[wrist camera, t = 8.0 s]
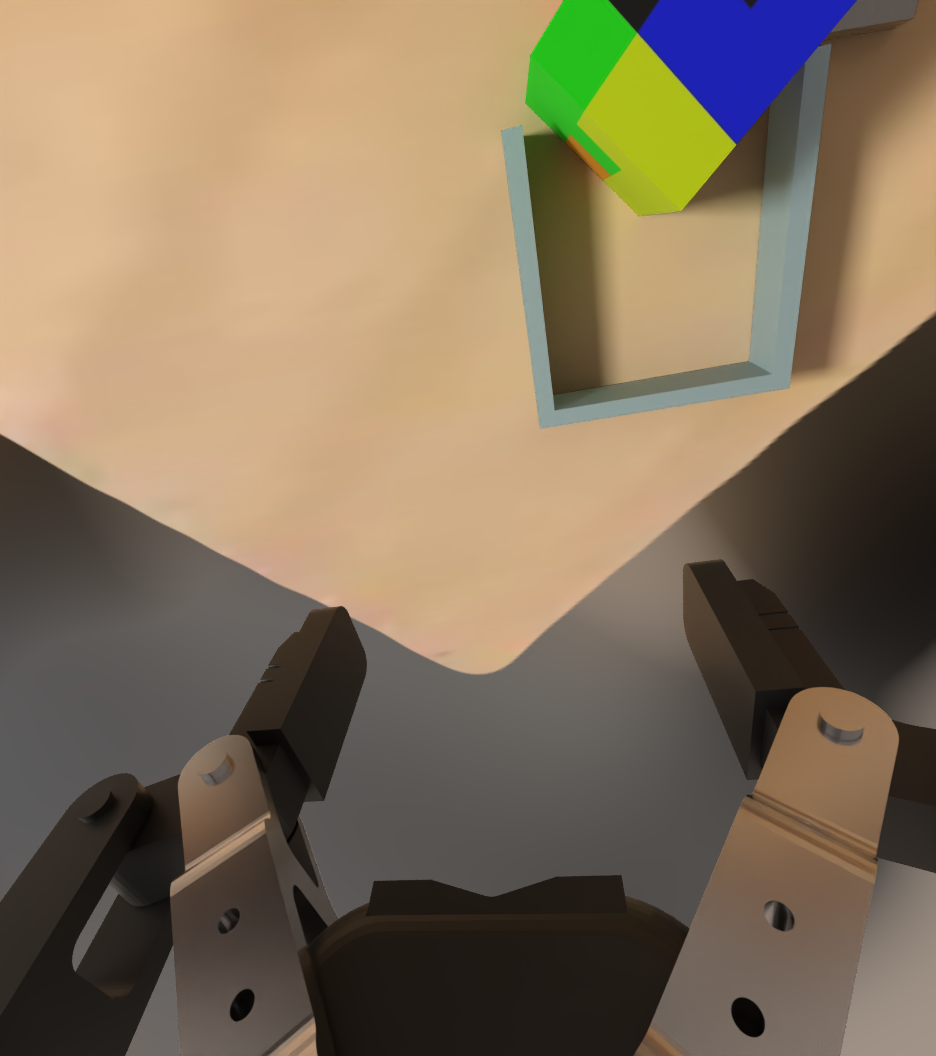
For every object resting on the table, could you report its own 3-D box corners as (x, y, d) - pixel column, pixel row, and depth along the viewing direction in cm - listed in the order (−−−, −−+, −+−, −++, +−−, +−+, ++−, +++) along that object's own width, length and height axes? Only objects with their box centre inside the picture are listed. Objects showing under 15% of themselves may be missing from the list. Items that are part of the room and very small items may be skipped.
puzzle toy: (766, 55, 29) (870, -17, 21) (638, 216, 34) (681, 210, 25) (646, -92, 27) (709, -243, 18) (525, 103, 31) (530, 54, 23)
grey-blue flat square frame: (502, 141, 32) (501, 130, 29) (794, 65, 29) (831, 43, 26) (538, 412, 41) (540, 428, 38) (764, 374, 38) (789, 388, 35)
